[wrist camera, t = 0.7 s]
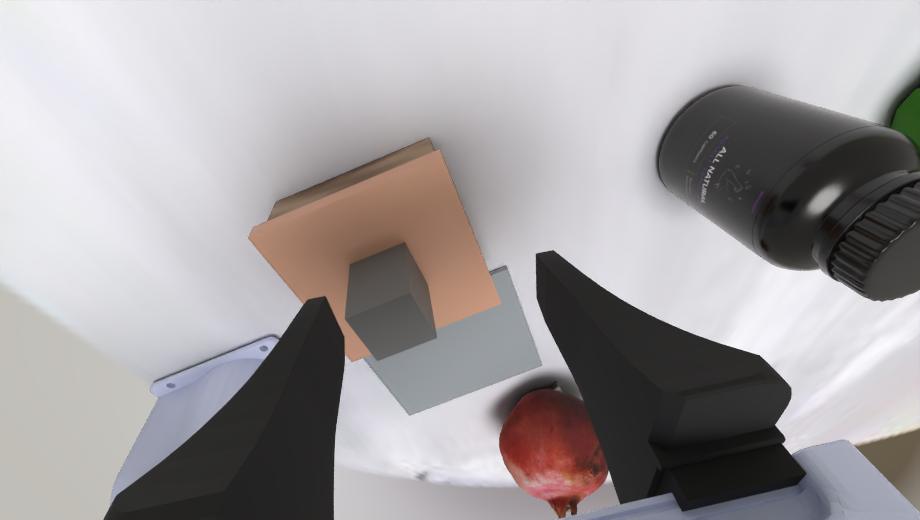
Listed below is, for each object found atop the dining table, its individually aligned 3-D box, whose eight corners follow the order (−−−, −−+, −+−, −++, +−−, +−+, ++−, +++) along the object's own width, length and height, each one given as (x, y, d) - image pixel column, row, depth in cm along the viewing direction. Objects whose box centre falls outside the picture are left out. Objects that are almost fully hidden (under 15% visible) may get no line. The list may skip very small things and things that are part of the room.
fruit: (586, 358, 34) (653, 474, 26) (584, 419, 39) (638, 531, 31) (483, 384, 33) (518, 511, 25) (496, 442, 39) (527, 562, 31)
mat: (409, 411, 34) (409, 415, 33) (344, 329, 27) (343, 333, 27) (540, 361, 33) (542, 365, 33) (505, 265, 27) (507, 269, 26)
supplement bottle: (638, 134, 23) (833, 244, 13) (751, 56, 21) (1065, 113, 12) (671, 215, 27) (841, 346, 17) (769, 152, 25) (1017, 257, 15)
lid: (352, 349, 24) (348, 421, 20) (253, 227, 19) (219, 293, 15) (497, 292, 24) (522, 355, 20) (439, 149, 18) (457, 195, 14)
